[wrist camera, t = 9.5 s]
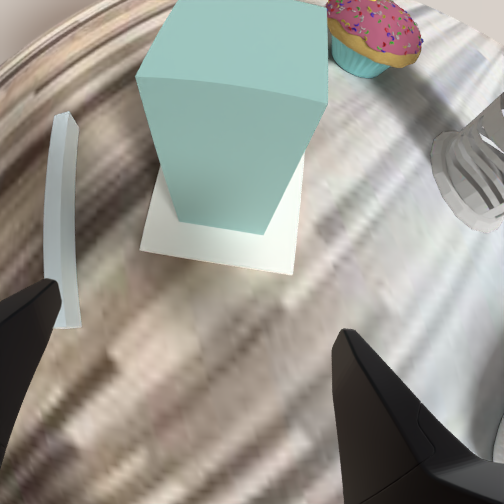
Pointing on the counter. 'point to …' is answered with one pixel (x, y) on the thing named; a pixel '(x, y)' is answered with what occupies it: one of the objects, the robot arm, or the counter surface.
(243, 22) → the sage block
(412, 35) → the cupcake
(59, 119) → the acrylic strip
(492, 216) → the french press
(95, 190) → the counter surface
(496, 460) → the ramekin
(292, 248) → the resting pad
